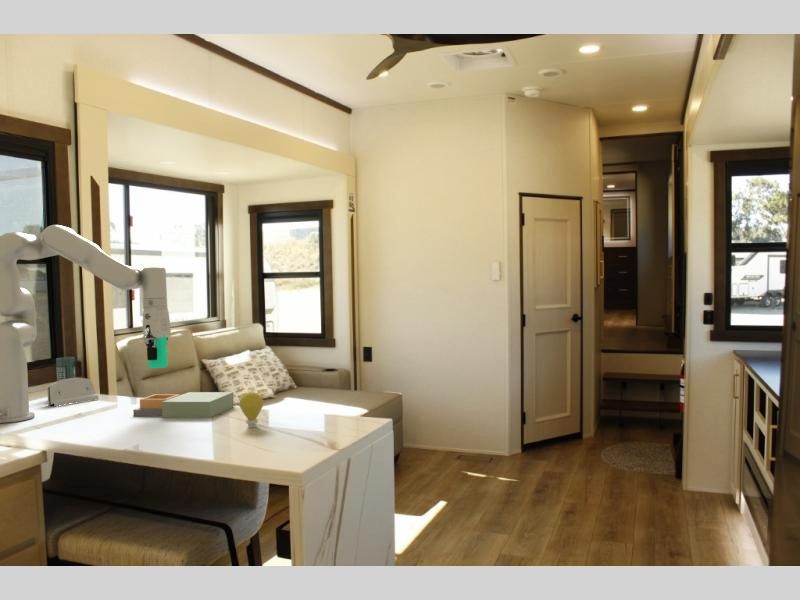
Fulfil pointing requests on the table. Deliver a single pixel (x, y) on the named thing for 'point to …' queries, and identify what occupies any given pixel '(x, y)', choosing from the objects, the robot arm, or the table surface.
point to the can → (65, 368)
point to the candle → (160, 354)
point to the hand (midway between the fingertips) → (157, 358)
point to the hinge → (71, 391)
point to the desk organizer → (185, 405)
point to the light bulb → (251, 407)
